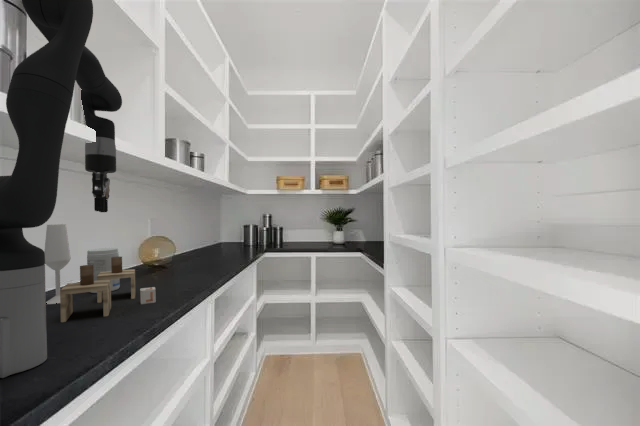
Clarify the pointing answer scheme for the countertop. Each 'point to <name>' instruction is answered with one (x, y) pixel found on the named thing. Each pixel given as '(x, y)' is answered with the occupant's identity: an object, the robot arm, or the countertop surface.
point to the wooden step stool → (84, 286)
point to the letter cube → (148, 295)
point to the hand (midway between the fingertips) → (101, 211)
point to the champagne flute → (56, 254)
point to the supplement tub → (103, 263)
